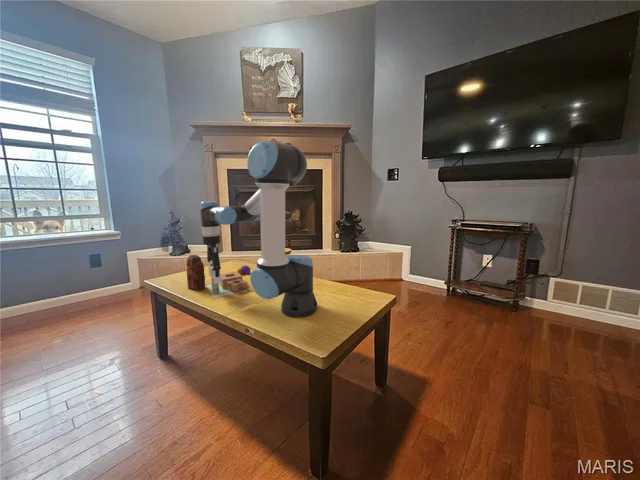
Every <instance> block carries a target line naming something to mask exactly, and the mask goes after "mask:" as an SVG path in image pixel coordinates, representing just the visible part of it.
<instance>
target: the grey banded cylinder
mask: <svg viewBox="0 0 640 480" xmlns="http://www.w3.org/2000/svg"><path fill="white" fill-rule="evenodd" d="M210 268H211V276H210V278H211V281H210V282H211V284H212V293H213V294H214V295H215V294H219V283H218V284H214V274H213V271H212V269H214V268H213V263H212V261H210Z"/></svg>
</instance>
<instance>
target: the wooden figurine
mask: <svg viewBox="0 0 640 480" xmlns="http://www.w3.org/2000/svg"><path fill="white" fill-rule="evenodd" d="M186 267H187V268H186V280H187V281H186V282H187V289H188V290H192V291H194V292H201V291H203V290H205V289H206V275H205V274H206V273H205V266H204V263H203V261H202V258H201V257H200V256H199V255H197V254H191V255H189V256H187V258H186Z"/></svg>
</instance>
